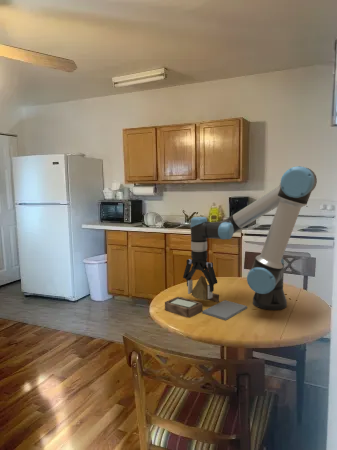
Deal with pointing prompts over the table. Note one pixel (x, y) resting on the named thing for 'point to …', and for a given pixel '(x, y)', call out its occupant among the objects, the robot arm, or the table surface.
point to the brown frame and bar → (186, 311)
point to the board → (224, 310)
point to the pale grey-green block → (184, 303)
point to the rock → (201, 289)
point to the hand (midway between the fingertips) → (200, 295)
